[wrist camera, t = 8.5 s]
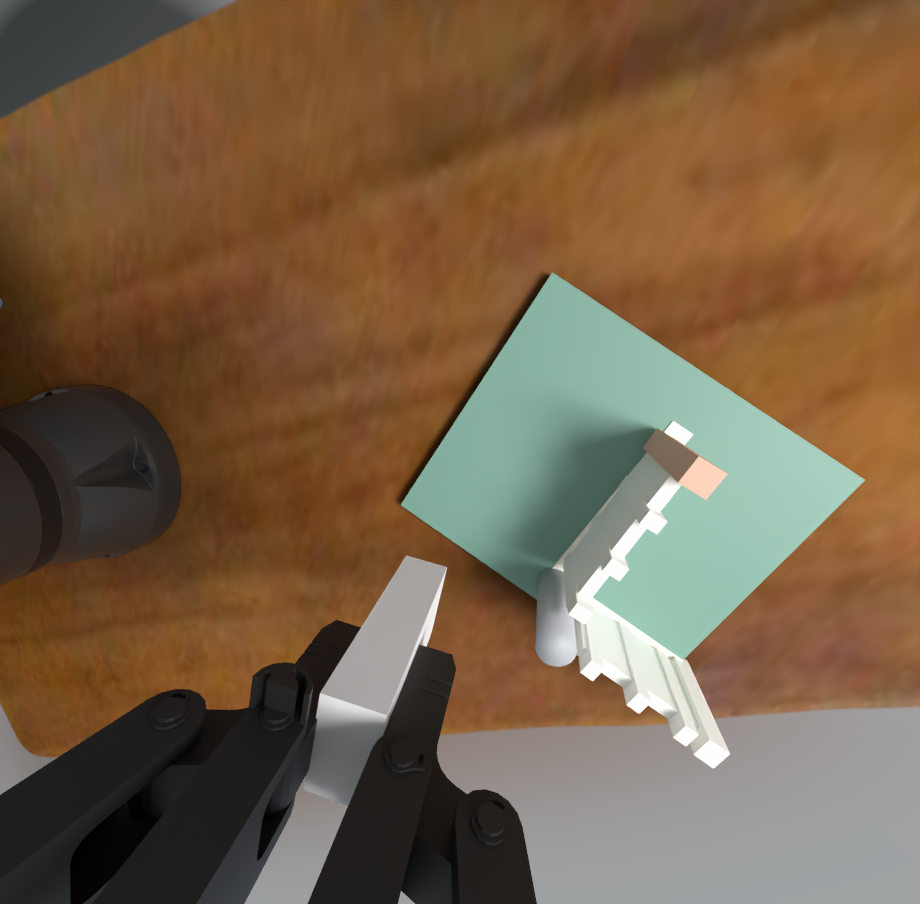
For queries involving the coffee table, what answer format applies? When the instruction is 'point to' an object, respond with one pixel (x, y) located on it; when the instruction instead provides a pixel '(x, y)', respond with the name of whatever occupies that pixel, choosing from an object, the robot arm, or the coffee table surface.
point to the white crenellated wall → (633, 517)
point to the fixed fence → (626, 667)
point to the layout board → (621, 471)
